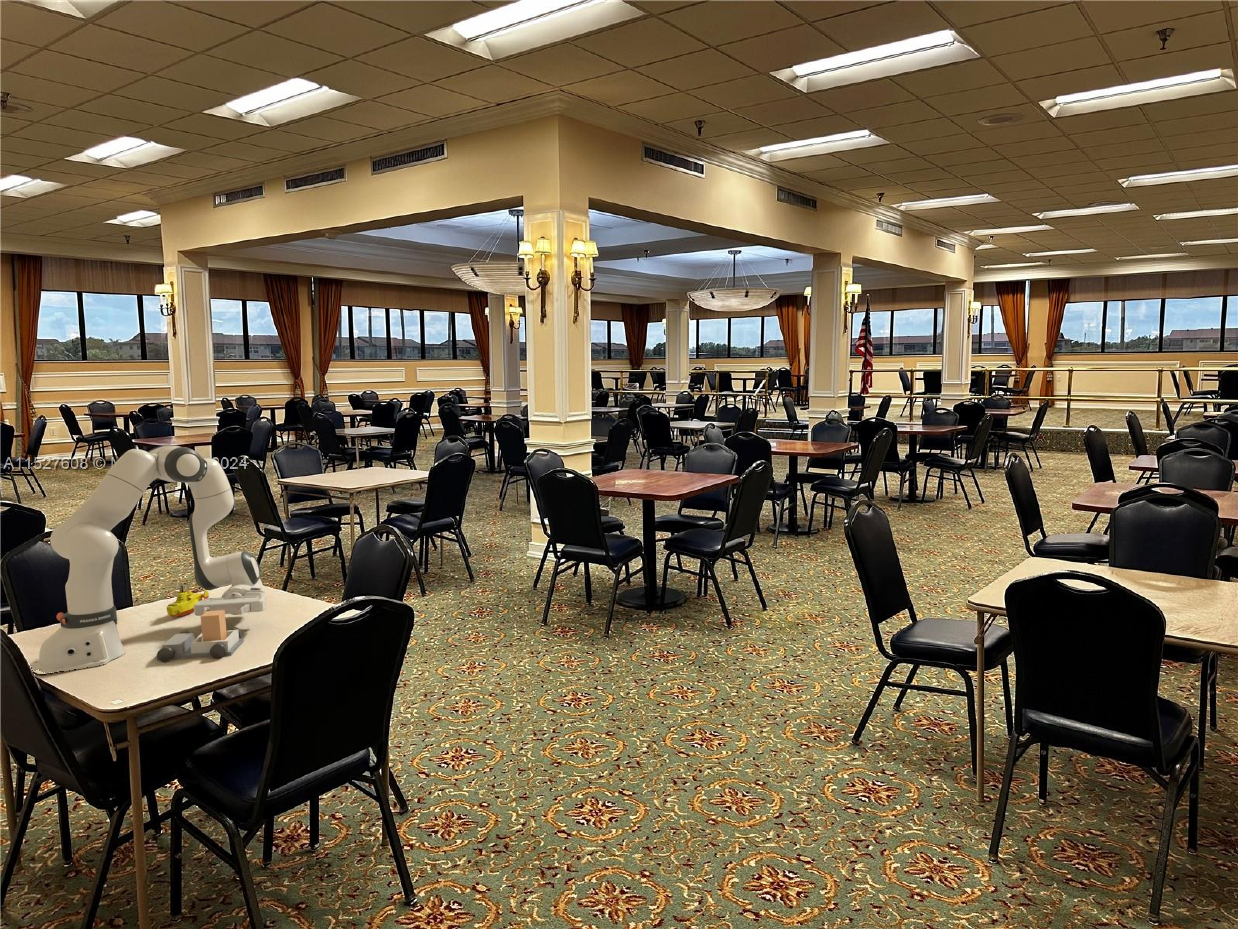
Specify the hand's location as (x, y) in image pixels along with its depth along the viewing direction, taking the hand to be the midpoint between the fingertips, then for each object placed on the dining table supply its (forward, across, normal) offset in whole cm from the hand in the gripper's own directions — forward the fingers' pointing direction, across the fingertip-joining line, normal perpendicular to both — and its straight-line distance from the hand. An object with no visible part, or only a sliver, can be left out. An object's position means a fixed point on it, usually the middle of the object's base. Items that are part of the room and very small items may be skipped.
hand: (222, 613), depth 248 cm
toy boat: (-33, -22, +9) cm, 41 cm away
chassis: (+8, -4, +8) cm, 12 cm away
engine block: (+8, 0, +8) cm, 11 cm away
